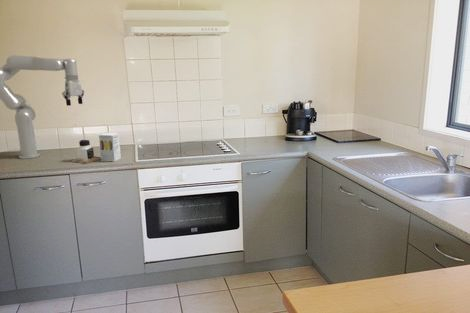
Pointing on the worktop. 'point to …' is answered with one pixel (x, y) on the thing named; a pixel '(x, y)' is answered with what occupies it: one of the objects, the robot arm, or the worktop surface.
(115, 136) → the supplement box
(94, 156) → the oak trivet
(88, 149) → the medicine bottle
